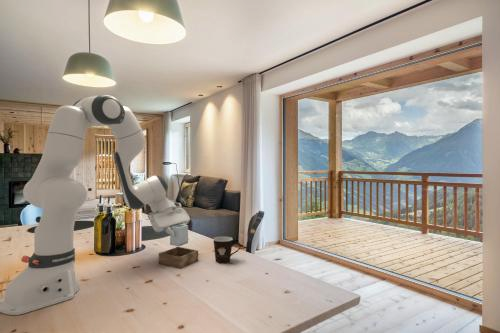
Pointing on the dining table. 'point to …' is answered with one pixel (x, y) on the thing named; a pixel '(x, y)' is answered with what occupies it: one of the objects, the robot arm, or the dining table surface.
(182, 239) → the grey piece
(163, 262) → the brown wooden tray
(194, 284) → the dining table surface
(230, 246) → the coffee mug
